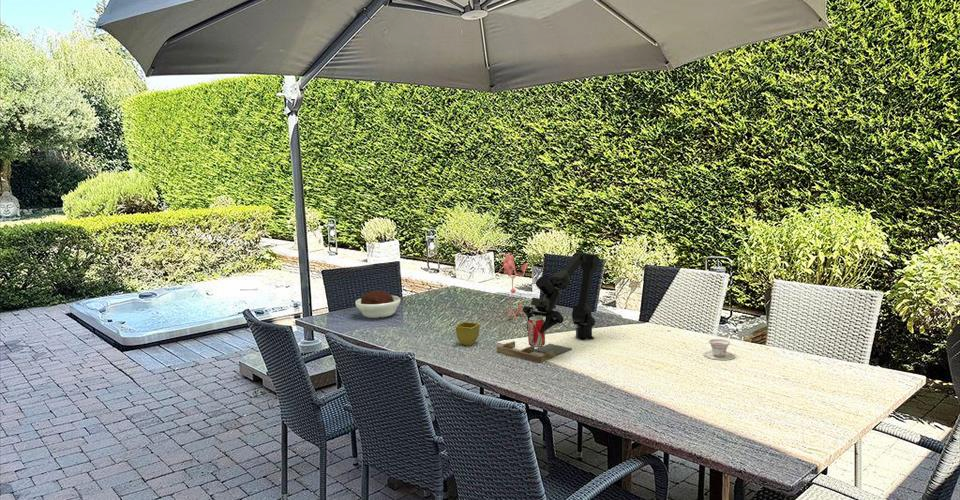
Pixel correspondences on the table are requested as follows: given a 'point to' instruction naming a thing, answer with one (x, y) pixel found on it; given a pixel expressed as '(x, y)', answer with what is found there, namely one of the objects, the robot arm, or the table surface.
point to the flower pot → (467, 332)
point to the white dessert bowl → (377, 304)
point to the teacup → (719, 350)
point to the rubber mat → (551, 347)
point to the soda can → (536, 332)
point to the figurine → (508, 268)
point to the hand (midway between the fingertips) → (534, 331)
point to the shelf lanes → (524, 352)
